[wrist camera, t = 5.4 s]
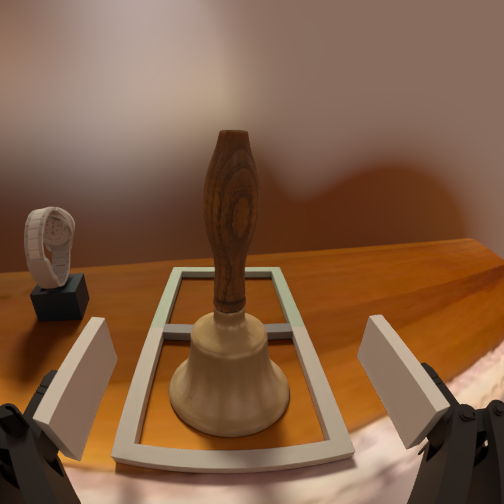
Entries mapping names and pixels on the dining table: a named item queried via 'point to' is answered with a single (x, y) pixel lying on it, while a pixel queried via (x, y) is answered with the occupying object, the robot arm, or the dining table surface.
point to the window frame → (230, 460)
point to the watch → (54, 266)
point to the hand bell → (230, 312)
